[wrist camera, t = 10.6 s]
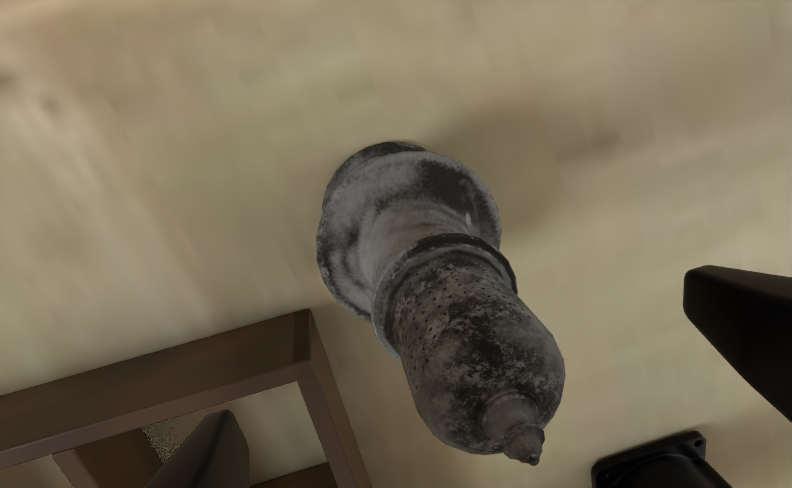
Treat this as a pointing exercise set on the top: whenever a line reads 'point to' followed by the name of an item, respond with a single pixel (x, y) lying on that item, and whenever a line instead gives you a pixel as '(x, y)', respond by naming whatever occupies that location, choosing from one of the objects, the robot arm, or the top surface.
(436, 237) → the grey chess piece
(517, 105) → the top surface
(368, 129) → the top surface
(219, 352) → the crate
